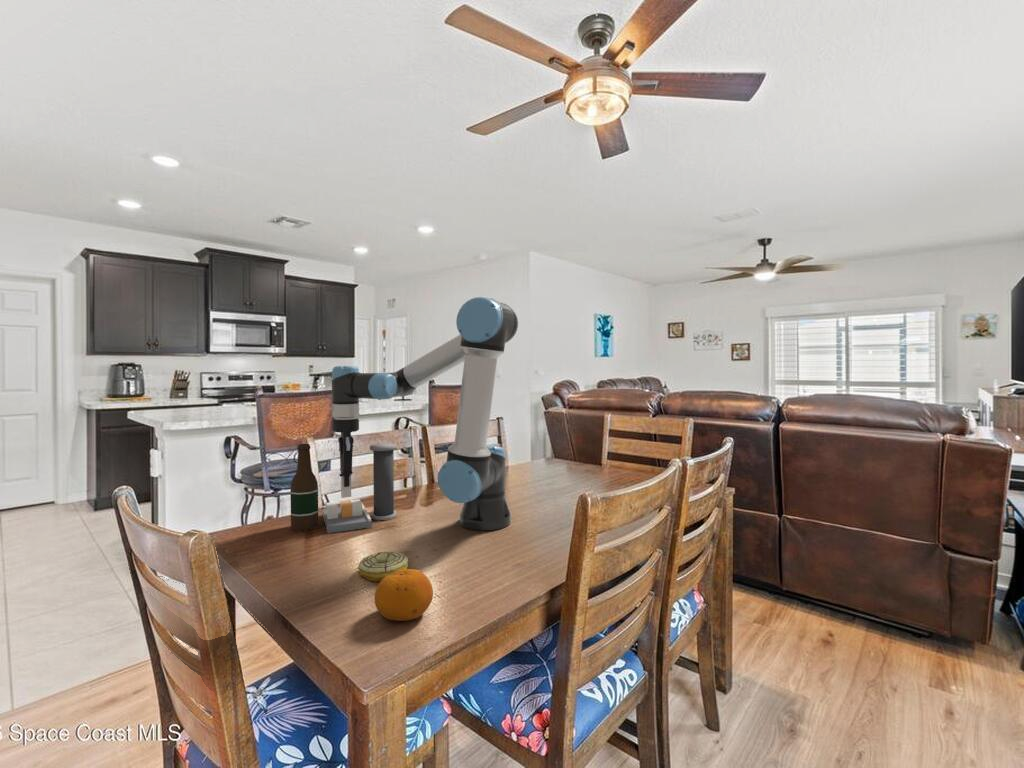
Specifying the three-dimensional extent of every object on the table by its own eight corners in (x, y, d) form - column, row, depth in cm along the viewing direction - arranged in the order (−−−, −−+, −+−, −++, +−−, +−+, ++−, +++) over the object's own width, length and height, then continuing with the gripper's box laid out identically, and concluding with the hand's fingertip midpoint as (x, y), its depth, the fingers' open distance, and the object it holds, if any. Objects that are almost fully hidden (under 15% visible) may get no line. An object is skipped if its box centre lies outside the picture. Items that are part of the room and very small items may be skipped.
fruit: (393, 598, 97) (393, 558, 97) (441, 605, 94) (441, 565, 94) (363, 624, 87) (362, 580, 87) (415, 634, 84) (415, 589, 84)
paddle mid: (352, 516, 143) (352, 504, 142) (342, 517, 141) (342, 505, 141) (350, 511, 147) (350, 500, 147) (340, 512, 146) (340, 501, 146)
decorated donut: (380, 561, 116) (380, 545, 116) (417, 569, 111) (417, 553, 111) (348, 578, 106) (348, 561, 106) (387, 588, 102) (387, 570, 102)
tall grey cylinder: (399, 518, 147) (399, 446, 146) (372, 522, 144) (372, 448, 143) (394, 511, 154) (393, 442, 153) (368, 514, 151) (368, 444, 150)
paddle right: (362, 515, 144) (362, 503, 144) (352, 516, 143) (352, 504, 142) (359, 510, 148) (359, 499, 148) (350, 511, 147) (350, 500, 147)
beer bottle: (285, 527, 138) (284, 444, 137) (311, 521, 144) (311, 441, 143) (296, 534, 133) (295, 447, 132) (324, 527, 139) (323, 444, 138)
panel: (371, 527, 139) (371, 518, 139) (327, 533, 134) (327, 524, 133) (362, 510, 155) (362, 502, 155) (322, 515, 150) (322, 506, 150)
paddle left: (337, 518, 141) (337, 506, 141) (327, 519, 140) (327, 507, 140) (336, 513, 145) (336, 501, 145) (326, 514, 144) (326, 502, 144)
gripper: (330, 416, 147) (330, 492, 148) (334, 420, 136) (334, 503, 137) (355, 415, 151) (356, 490, 151) (362, 419, 139) (362, 500, 140)
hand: (346, 496), depth 144 cm, fingers closed
